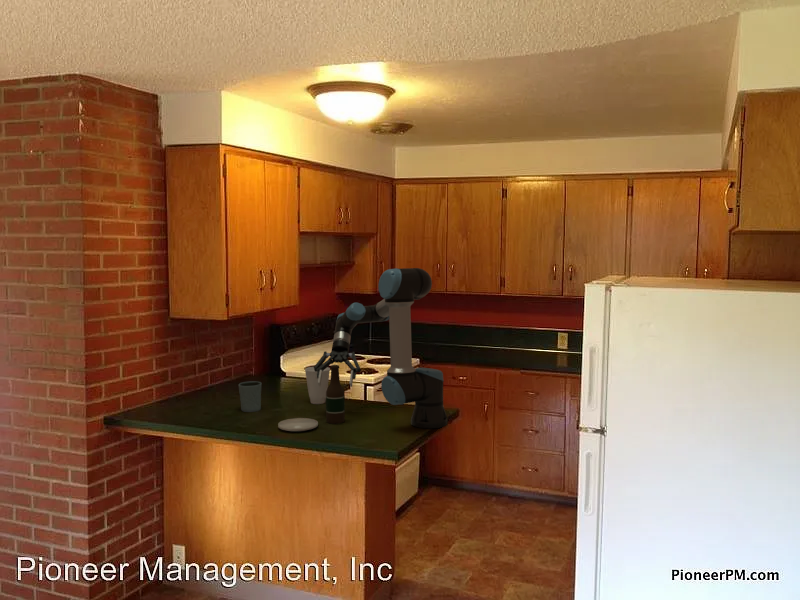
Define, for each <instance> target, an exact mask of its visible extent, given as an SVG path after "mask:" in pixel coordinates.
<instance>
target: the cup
mask: <svg viewBox="0 0 800 600" xmlns="http://www.w3.org/2000/svg"><path fill="white" fill-rule="evenodd" d="M304 371H305V377H306V384H307V391H308V398H309V401H310V403H311V404H313V405H320V404H321V405H322V404H326V391H327V388H328V387H329V382H330V381H329V380H330V374H331V368H330V367H329V366H328V367H327V368H326V369H324V370H323V371H322V373H323V374H322V380H321V386H319V385H318V378H317V371H316V372H315V370H314V366H310V367H305V368H304Z"/></svg>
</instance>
